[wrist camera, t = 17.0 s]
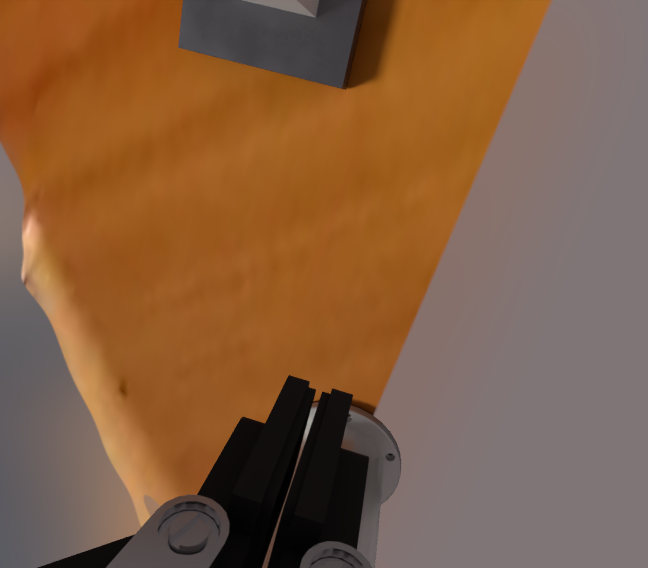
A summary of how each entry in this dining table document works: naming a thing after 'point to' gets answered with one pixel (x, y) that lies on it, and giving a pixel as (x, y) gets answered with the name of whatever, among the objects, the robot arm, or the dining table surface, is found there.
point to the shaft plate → (276, 36)
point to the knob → (292, 5)
